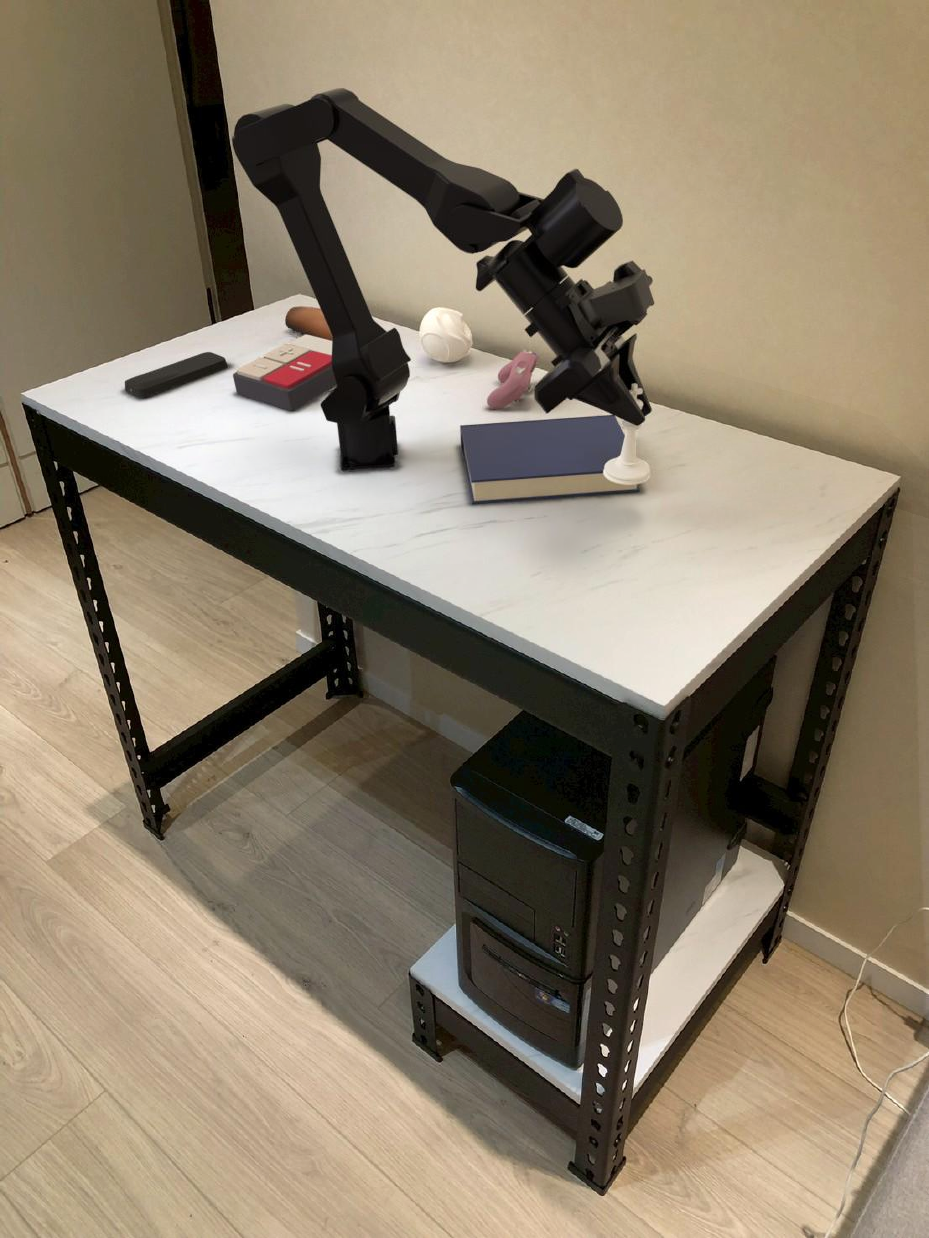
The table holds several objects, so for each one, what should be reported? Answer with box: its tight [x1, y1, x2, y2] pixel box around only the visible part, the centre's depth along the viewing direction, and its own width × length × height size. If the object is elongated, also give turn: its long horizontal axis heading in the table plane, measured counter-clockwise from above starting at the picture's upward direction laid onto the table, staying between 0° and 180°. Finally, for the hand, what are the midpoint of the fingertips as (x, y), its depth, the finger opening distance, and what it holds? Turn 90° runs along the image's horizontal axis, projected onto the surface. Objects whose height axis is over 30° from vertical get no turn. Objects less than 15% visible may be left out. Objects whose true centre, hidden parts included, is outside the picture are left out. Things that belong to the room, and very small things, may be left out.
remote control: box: [124, 351, 228, 399], centre depth 141 cm, size 5×2×15 cm
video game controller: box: [486, 348, 540, 410], centre depth 131 cm, size 10×5×7 cm, turn 168°
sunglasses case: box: [284, 305, 332, 341], centre depth 150 cm, size 18×7×7 cm
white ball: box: [418, 307, 473, 364], centre depth 141 cm, size 8×8×8 cm
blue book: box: [459, 414, 640, 505], centre depth 115 cm, size 19×14×3 cm
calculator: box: [232, 334, 337, 412], centre depth 137 cm, size 11×4×15 cm
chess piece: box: [603, 383, 651, 485], centre depth 100 cm, size 5×5×10 cm
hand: (645, 418), depth 99 cm, fingers closed on chess piece
